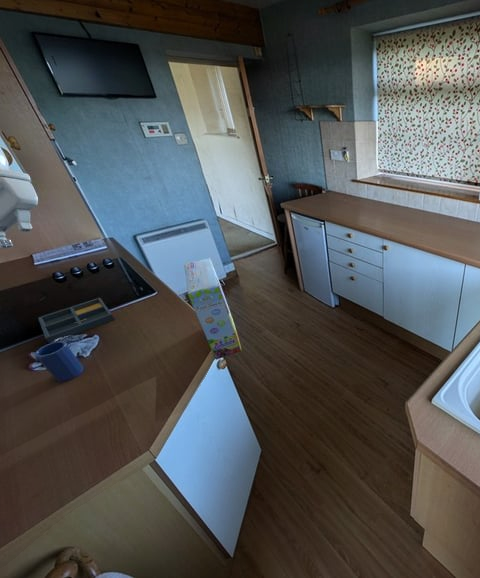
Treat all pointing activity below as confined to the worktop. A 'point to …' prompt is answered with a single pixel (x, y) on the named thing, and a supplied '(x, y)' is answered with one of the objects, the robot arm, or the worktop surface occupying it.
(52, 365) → the cup
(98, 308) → the grey divided tray
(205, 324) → the snack box
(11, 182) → the robot arm
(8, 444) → the worktop surface
